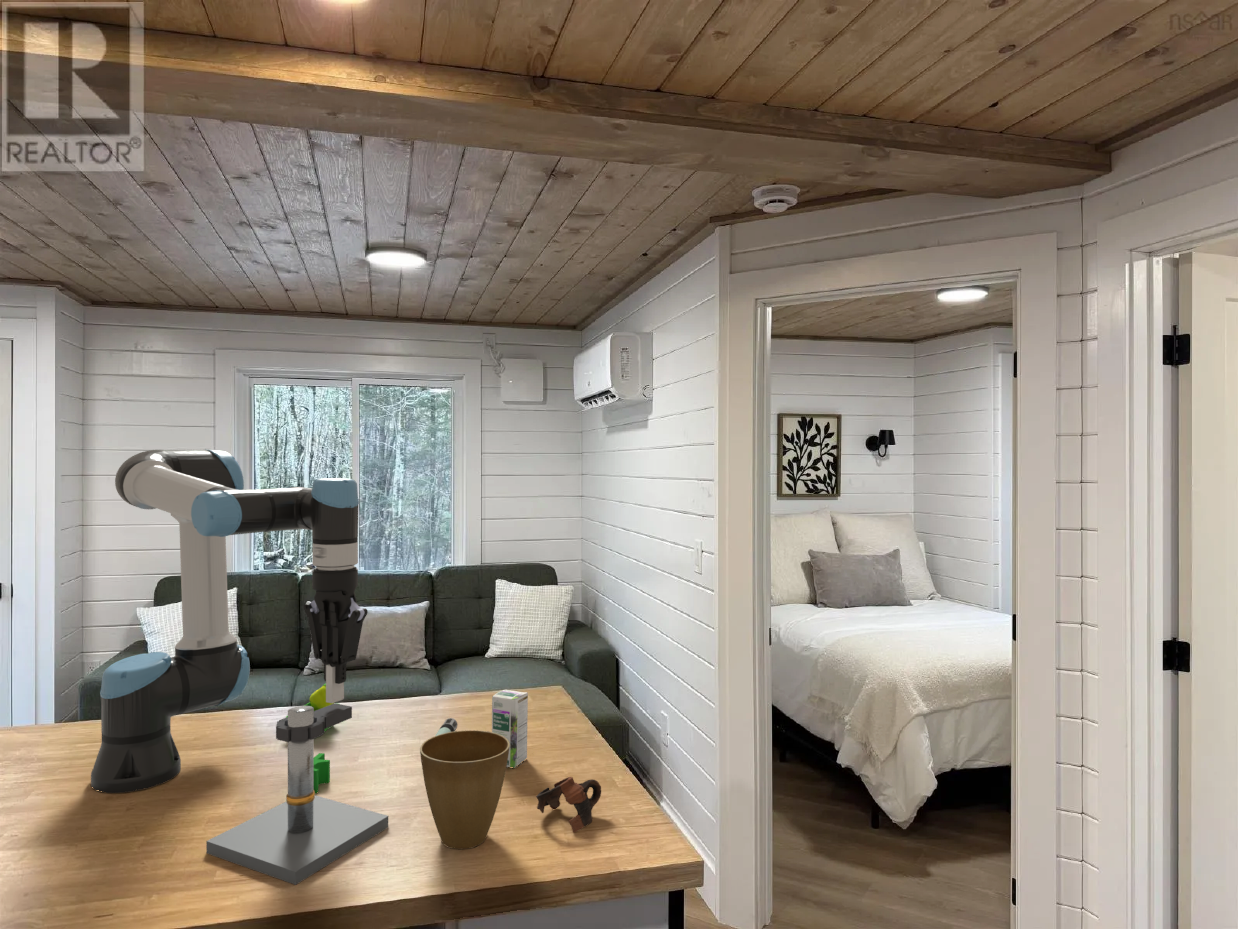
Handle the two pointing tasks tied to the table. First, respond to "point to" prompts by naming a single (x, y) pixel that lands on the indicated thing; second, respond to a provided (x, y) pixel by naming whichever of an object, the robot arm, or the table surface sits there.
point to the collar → (314, 724)
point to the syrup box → (511, 722)
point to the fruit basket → (319, 700)
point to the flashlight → (448, 726)
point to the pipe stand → (297, 839)
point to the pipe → (300, 774)
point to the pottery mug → (572, 799)
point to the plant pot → (464, 783)
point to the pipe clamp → (321, 771)
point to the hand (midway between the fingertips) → (335, 700)
